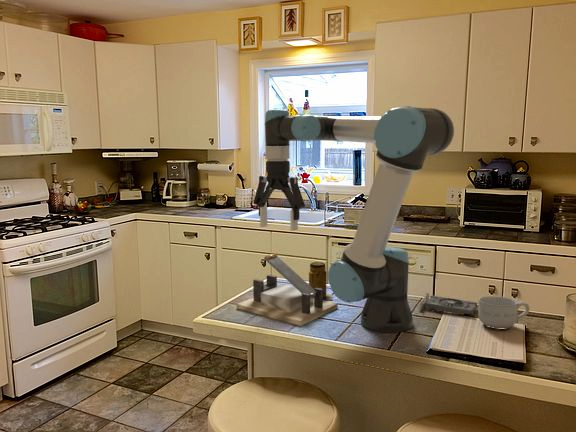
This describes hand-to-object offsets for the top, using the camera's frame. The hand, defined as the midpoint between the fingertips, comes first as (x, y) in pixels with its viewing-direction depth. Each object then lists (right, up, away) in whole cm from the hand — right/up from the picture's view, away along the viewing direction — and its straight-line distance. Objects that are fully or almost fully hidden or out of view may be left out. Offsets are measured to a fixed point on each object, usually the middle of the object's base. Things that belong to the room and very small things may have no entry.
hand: (278, 228), depth 163 cm
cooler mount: (+3, -26, +2) cm, 26 cm away
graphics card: (+54, -27, 0) cm, 60 cm away
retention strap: (+4, -16, 0) cm, 16 cm away
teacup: (+65, -28, -15) cm, 73 cm away
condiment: (+14, -24, +14) cm, 31 cm away
